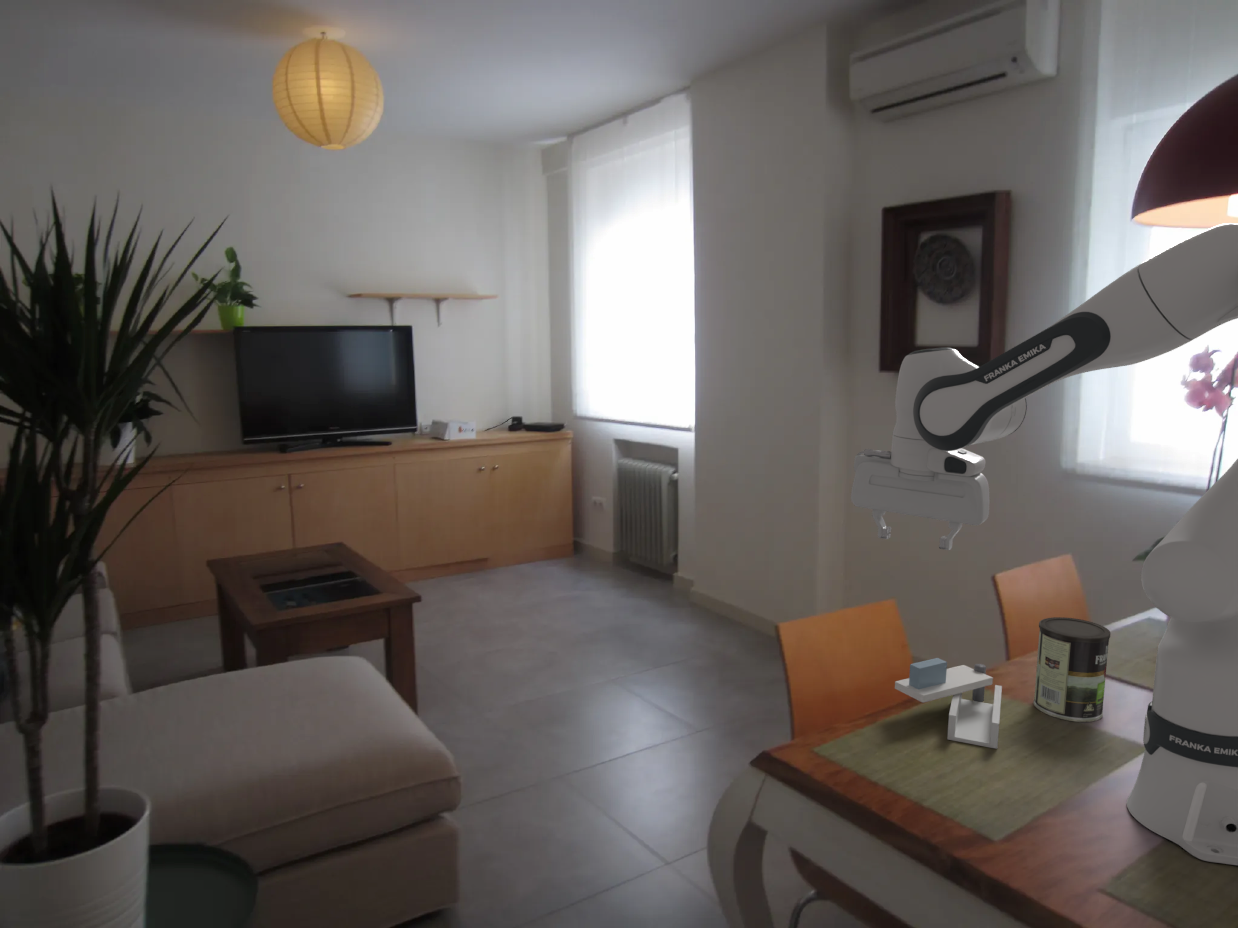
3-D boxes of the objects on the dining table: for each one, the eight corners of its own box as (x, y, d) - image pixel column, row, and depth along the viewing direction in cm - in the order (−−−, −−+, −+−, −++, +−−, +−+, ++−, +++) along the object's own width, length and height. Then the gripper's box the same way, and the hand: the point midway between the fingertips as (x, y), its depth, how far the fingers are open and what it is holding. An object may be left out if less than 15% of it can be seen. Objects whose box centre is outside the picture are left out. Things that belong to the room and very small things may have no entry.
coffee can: (1107, 705, 142) (1115, 624, 140) (1097, 728, 134) (1105, 643, 131) (1039, 690, 148) (1046, 612, 146) (1026, 711, 140) (1032, 629, 138)
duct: (1000, 708, 141) (1001, 685, 140) (997, 748, 127) (999, 723, 127) (954, 700, 144) (956, 678, 143) (947, 739, 130) (948, 714, 130)
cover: (996, 705, 141) (1000, 655, 140) (921, 726, 134) (924, 674, 132) (967, 691, 146) (970, 643, 145) (893, 711, 139) (896, 660, 138)
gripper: (847, 449, 132) (841, 535, 135) (986, 466, 120) (976, 560, 123) (862, 445, 137) (856, 528, 140) (997, 460, 125) (987, 550, 128)
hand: (914, 543), depth 131 cm, fingers open, 8 cm apart
